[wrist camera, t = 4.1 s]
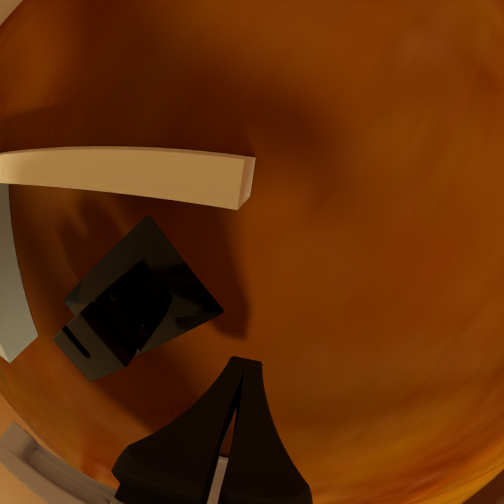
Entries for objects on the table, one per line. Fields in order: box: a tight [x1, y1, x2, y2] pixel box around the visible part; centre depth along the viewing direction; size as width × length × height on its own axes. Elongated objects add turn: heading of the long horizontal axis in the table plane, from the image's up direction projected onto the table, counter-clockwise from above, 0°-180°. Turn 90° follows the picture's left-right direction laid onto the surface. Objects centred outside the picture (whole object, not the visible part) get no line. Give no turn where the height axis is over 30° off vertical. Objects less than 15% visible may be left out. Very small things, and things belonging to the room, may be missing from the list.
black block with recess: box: [52, 216, 223, 382], centre depth 12 cm, size 12×7×5 cm, turn 125°
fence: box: [0, 146, 256, 363], centre depth 11 cm, size 18×14×4 cm
